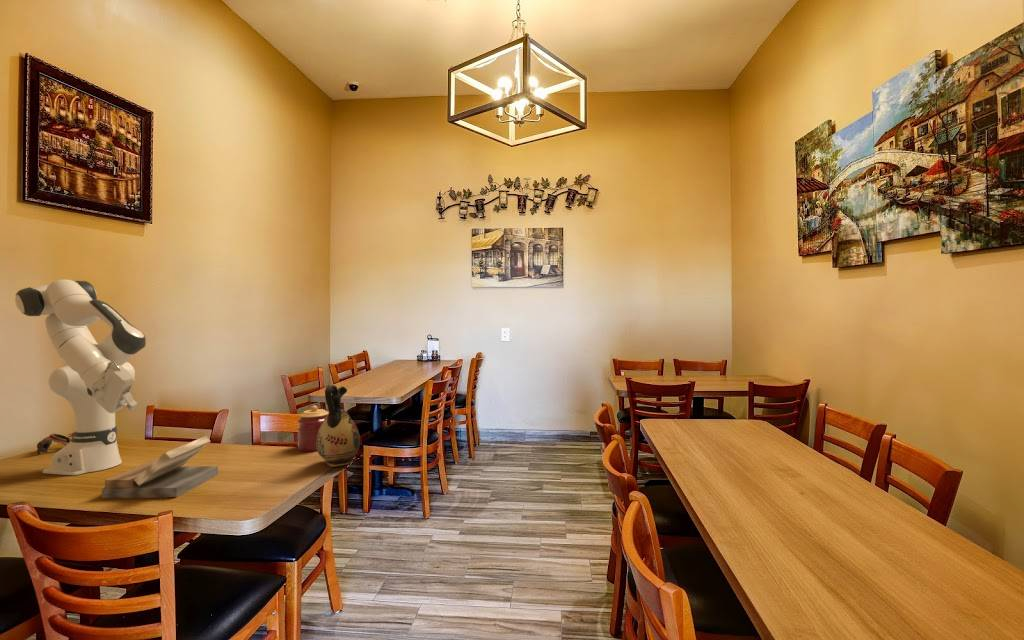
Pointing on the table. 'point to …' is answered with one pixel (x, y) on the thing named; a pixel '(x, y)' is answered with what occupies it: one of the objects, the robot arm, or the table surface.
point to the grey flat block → (157, 482)
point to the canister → (310, 428)
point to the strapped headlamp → (47, 441)
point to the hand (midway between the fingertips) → (133, 407)
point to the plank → (171, 460)
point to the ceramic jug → (337, 431)
